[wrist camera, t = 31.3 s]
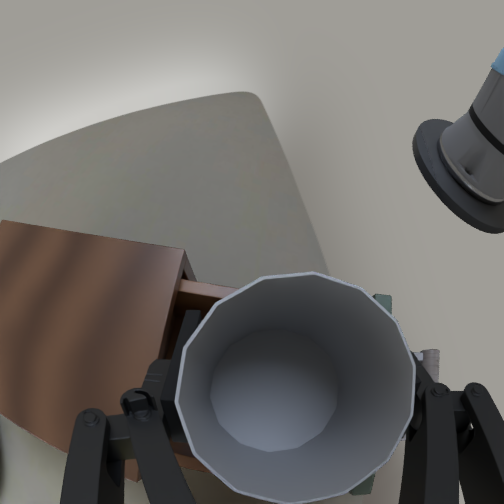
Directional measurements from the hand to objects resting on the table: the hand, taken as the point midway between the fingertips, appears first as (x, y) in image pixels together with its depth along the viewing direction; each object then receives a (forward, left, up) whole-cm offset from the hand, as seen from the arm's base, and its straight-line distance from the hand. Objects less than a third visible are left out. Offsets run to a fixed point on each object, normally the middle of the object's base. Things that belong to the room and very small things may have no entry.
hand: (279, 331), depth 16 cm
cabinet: (+14, +3, -10) cm, 18 cm away
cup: (-1, +3, -4) cm, 5 cm away
